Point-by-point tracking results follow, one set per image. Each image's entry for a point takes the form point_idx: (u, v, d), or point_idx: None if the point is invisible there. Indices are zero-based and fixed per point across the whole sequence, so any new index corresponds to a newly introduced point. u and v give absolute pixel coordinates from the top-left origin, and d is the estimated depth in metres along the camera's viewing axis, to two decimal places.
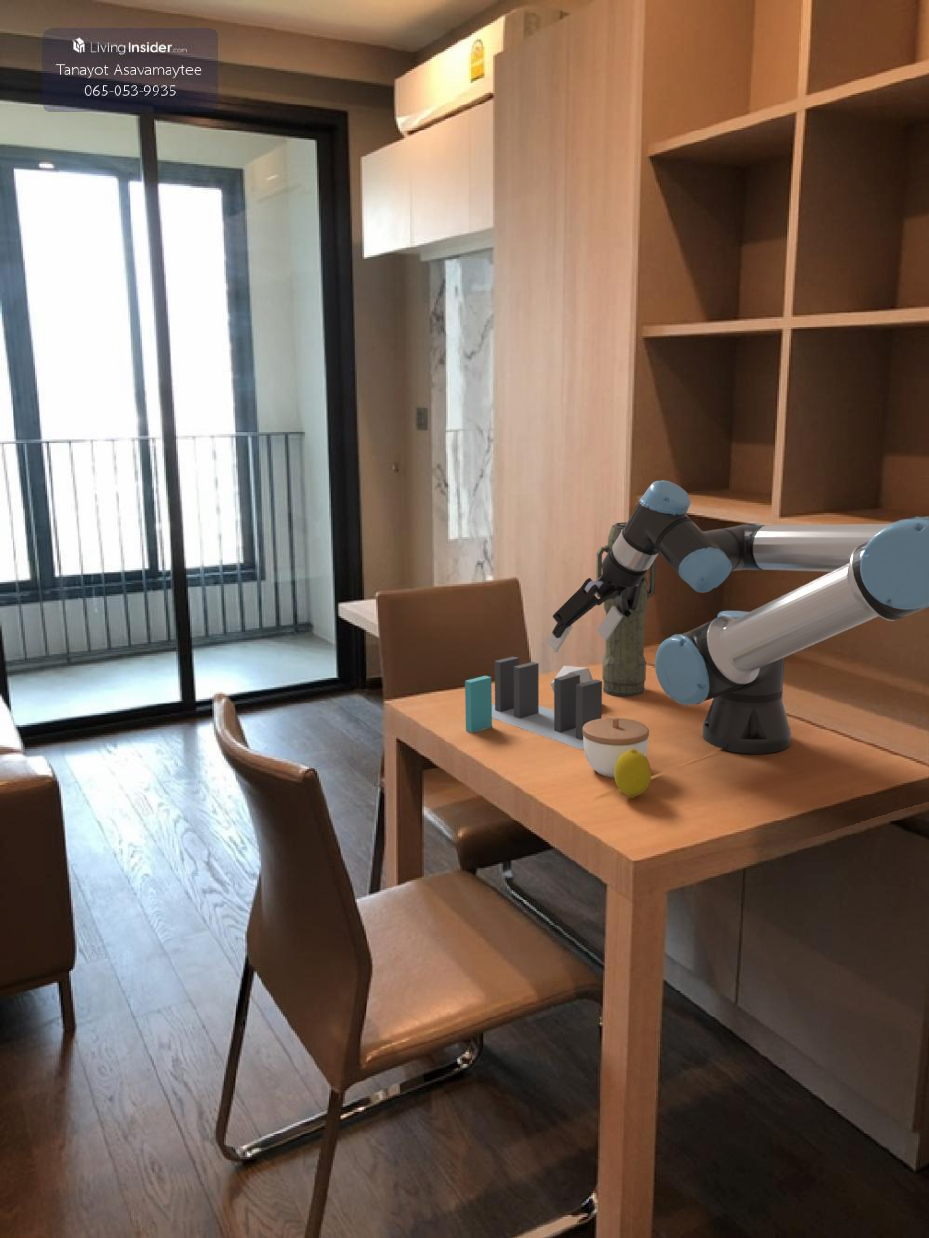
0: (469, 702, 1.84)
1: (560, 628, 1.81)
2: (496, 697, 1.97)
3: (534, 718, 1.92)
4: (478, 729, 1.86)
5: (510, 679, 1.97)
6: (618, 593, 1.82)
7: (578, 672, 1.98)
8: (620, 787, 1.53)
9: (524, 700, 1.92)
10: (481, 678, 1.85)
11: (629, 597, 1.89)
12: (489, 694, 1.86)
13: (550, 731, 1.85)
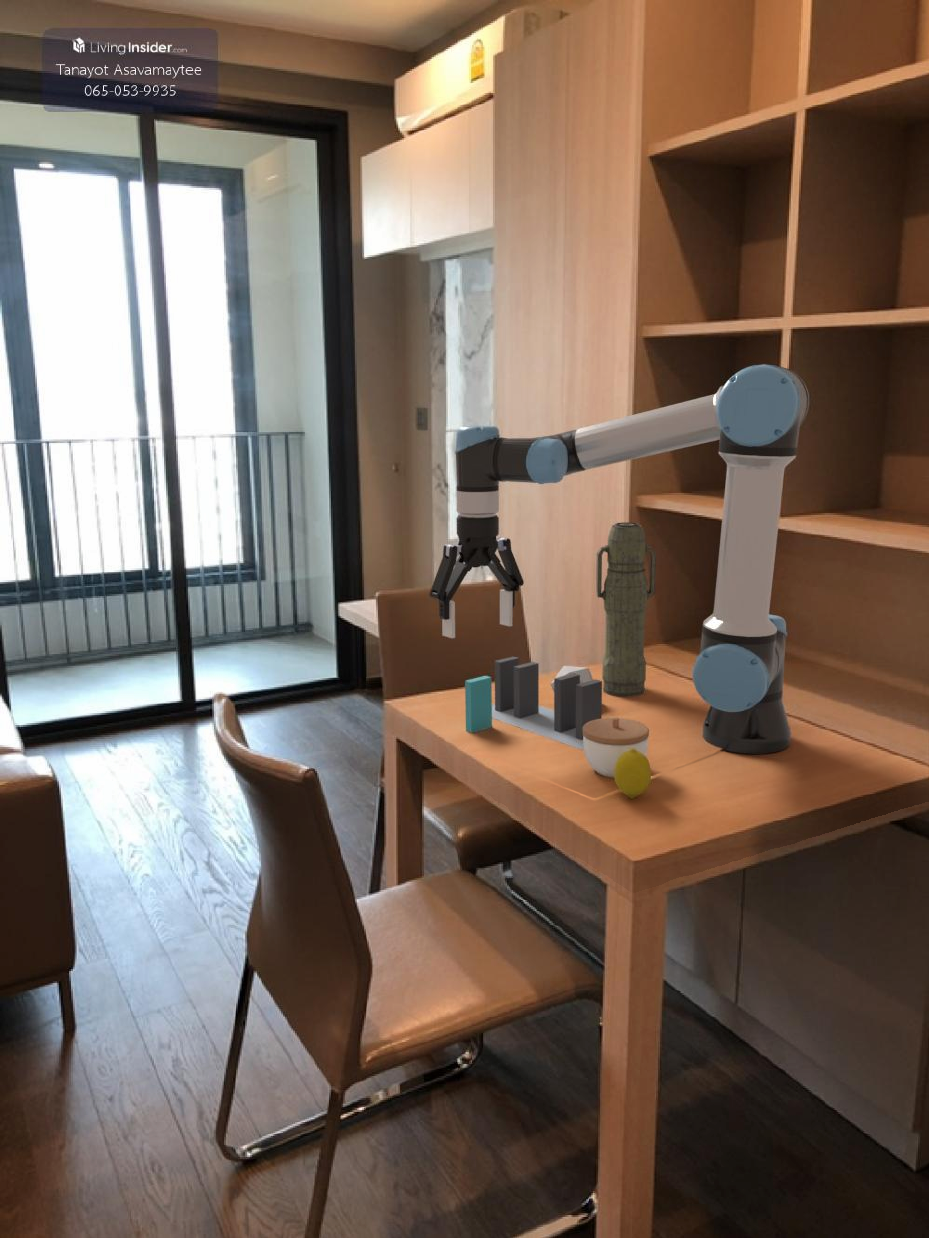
0: (469, 702, 1.84)
1: (443, 606, 1.77)
2: (496, 697, 1.97)
3: (534, 718, 1.92)
4: (478, 729, 1.86)
5: (510, 679, 1.97)
6: (487, 558, 1.80)
7: (578, 672, 1.98)
8: (620, 787, 1.53)
9: (524, 700, 1.92)
10: (481, 678, 1.85)
11: (510, 571, 1.86)
12: (489, 694, 1.86)
13: (550, 731, 1.85)
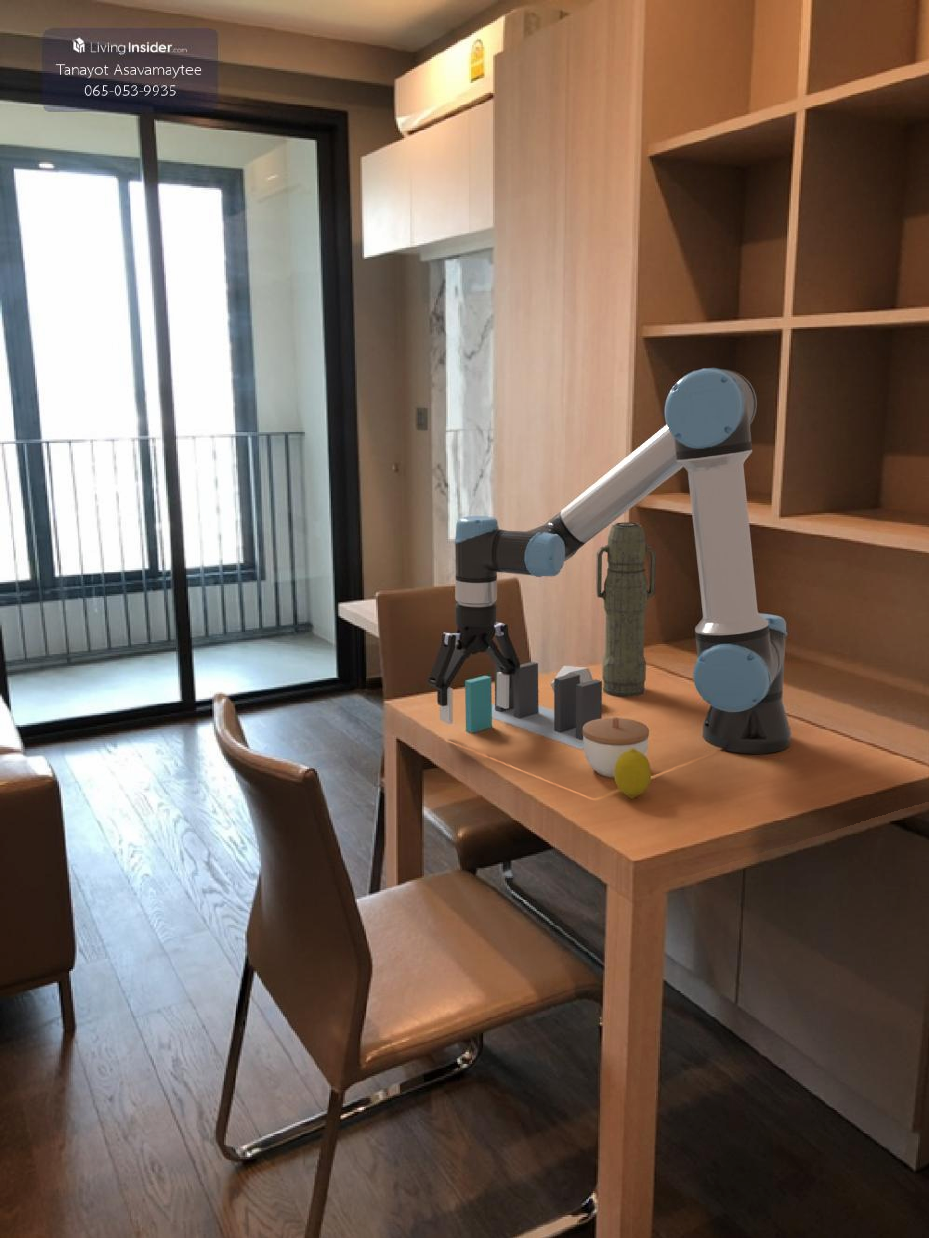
0: (469, 702, 1.84)
1: (441, 693, 1.80)
2: (496, 697, 1.97)
3: (534, 718, 1.92)
4: (478, 729, 1.86)
5: None
6: (485, 644, 1.84)
7: (578, 672, 1.98)
8: (620, 787, 1.53)
9: (524, 700, 1.93)
10: (481, 678, 1.85)
11: (507, 655, 1.89)
12: (489, 694, 1.86)
13: (550, 731, 1.85)
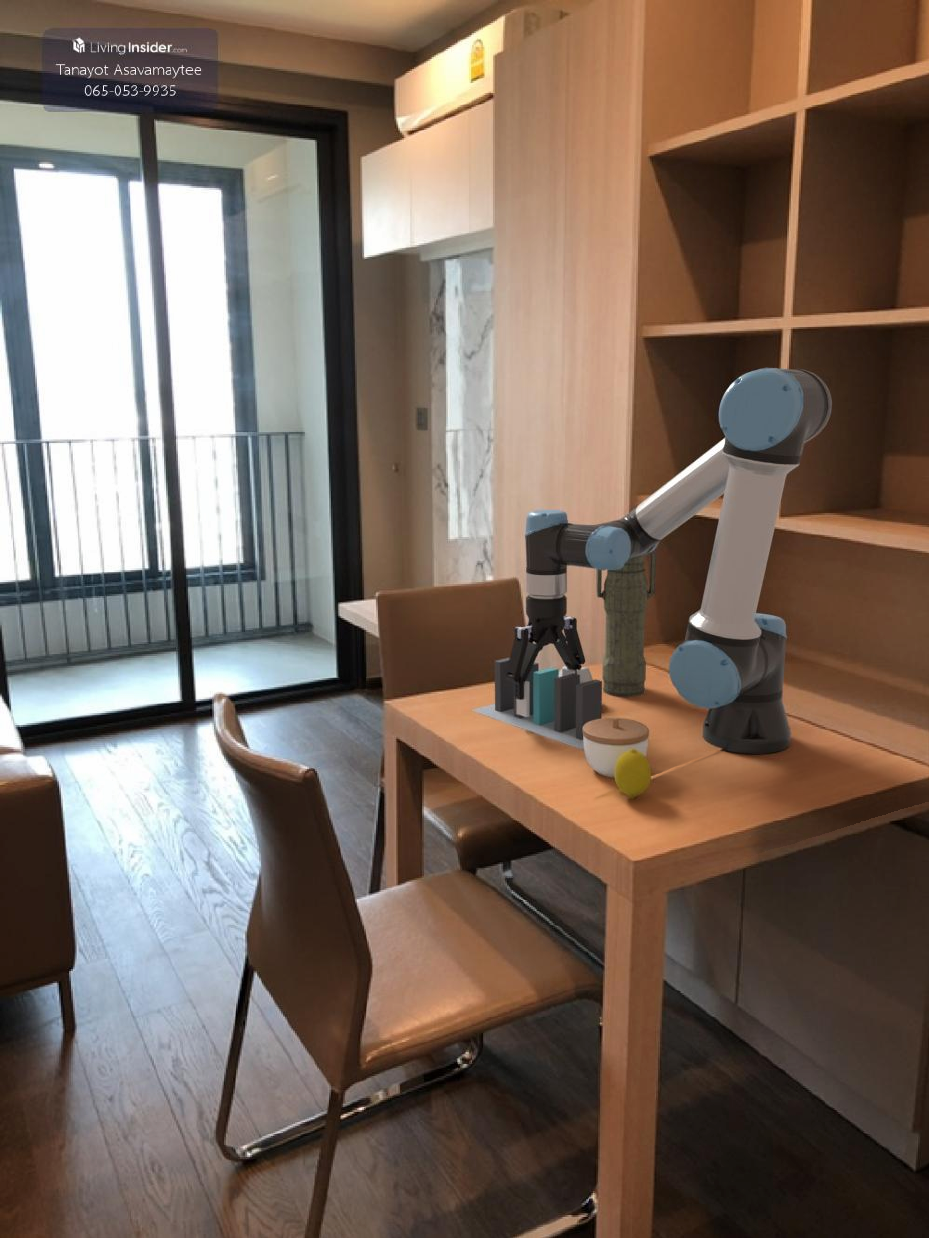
0: (538, 693, 1.87)
1: (518, 687, 1.84)
2: (496, 697, 1.97)
3: None
4: (545, 720, 1.89)
5: None
6: (555, 636, 1.87)
7: (578, 672, 1.98)
8: (620, 787, 1.53)
9: None
10: (549, 670, 1.89)
11: (573, 649, 1.92)
12: None
13: (550, 731, 1.85)
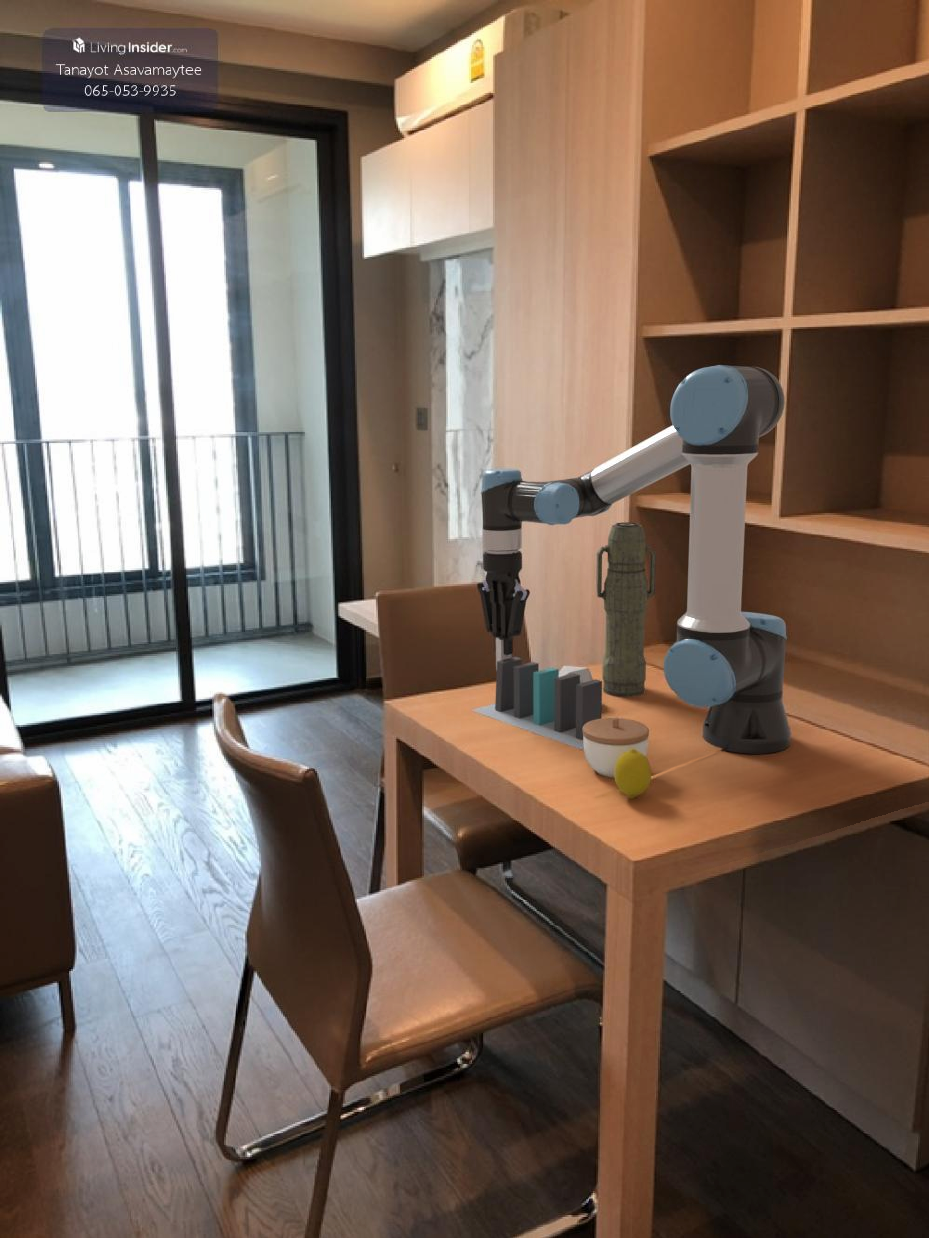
0: (538, 693, 1.87)
1: None
2: (497, 697, 1.97)
3: None
4: (545, 720, 1.89)
5: (512, 680, 1.97)
6: None
7: (578, 672, 1.98)
8: (620, 787, 1.53)
9: (524, 700, 1.92)
10: (549, 670, 1.89)
11: None
12: None
13: (550, 731, 1.85)
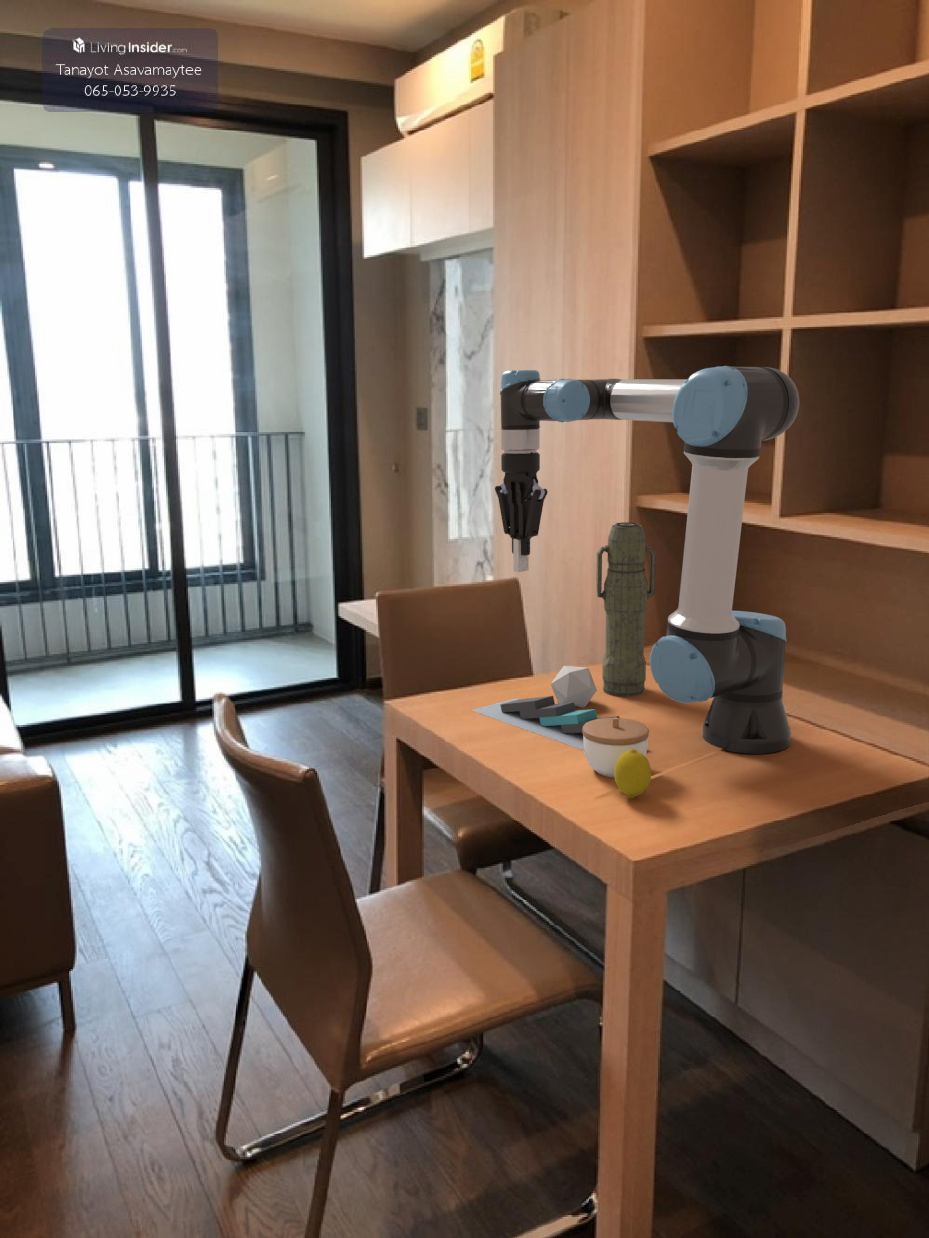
0: (563, 722, 1.83)
1: (512, 541, 2.01)
2: (509, 705, 1.94)
3: (534, 718, 1.92)
4: None
5: None
6: None
7: (578, 672, 1.98)
8: (620, 787, 1.53)
9: None
10: (589, 716, 1.82)
11: None
12: None
13: (550, 731, 1.85)
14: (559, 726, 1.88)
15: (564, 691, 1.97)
